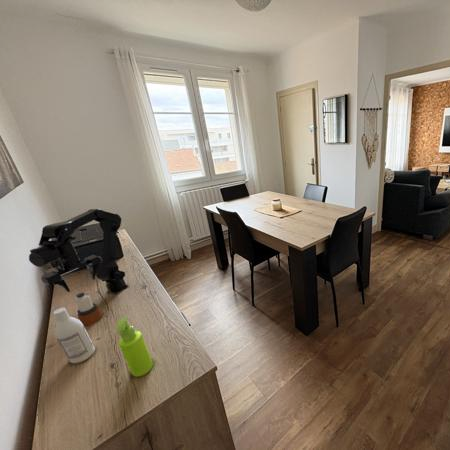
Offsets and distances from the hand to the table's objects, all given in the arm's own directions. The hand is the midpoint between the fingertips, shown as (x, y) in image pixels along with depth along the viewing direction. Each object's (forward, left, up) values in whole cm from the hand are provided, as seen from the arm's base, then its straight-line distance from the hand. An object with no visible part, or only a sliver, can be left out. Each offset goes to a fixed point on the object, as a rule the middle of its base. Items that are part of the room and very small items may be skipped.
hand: (81, 285), depth 103 cm
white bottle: (+4, +7, -7) cm, 11 cm away
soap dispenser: (+12, +51, -13) cm, 54 cm away
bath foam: (+16, +25, -13) cm, 32 cm away
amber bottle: (+4, +7, -13) cm, 15 cm away
